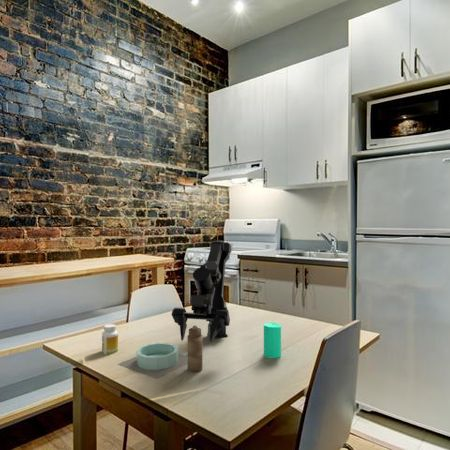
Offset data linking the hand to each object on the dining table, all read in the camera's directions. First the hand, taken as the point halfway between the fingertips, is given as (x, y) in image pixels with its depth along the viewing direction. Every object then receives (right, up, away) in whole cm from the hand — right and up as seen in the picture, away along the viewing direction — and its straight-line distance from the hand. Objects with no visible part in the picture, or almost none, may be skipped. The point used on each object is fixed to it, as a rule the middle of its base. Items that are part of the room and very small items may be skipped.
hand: (196, 340), depth 110 cm
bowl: (-13, -8, +5) cm, 16 cm away
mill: (0, -9, -1) cm, 9 cm away
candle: (+26, -9, +12) cm, 30 cm away
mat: (-13, -9, +5) cm, 17 cm away
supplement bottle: (-32, -9, +14) cm, 36 cm away
